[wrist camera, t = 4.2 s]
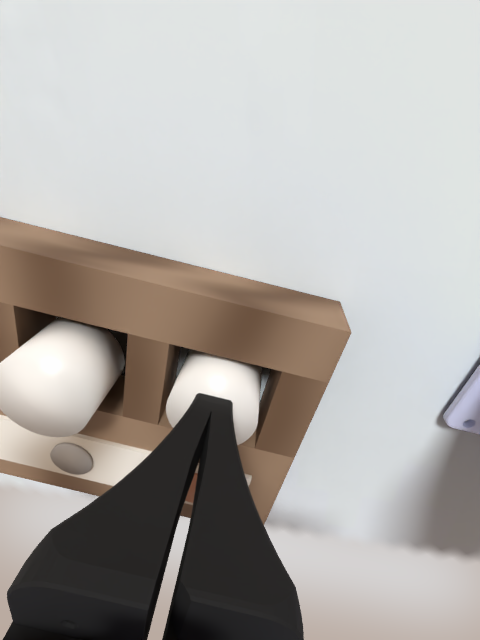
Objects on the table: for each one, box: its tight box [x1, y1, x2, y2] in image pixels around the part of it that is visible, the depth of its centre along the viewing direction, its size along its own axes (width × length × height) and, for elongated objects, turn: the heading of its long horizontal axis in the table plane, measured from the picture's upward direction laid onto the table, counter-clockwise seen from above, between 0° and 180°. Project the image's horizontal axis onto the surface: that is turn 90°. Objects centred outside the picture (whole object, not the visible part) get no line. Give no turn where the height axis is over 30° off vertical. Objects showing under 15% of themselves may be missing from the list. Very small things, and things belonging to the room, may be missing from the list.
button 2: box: [166, 349, 262, 445], centre depth 14 cm, size 4×4×3 cm
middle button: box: [0, 317, 124, 437], centre depth 13 cm, size 4×4×3 cm
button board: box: [0, 217, 351, 525], centre depth 15 cm, size 20×13×3 cm, turn 77°
